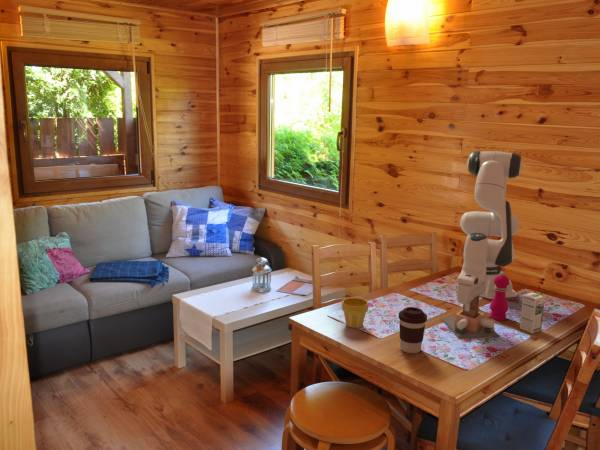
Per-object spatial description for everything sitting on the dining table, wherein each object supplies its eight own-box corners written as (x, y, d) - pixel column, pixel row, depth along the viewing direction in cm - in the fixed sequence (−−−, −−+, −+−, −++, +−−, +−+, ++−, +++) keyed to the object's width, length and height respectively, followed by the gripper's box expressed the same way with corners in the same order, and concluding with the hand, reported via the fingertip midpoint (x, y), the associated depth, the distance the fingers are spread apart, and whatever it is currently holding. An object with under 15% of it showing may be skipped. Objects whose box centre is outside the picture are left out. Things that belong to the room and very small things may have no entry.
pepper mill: (485, 317, 217) (490, 271, 213) (493, 312, 222) (497, 268, 218) (502, 322, 212) (507, 275, 208) (509, 317, 217) (514, 271, 213)
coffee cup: (407, 357, 180) (409, 317, 177) (391, 345, 189) (393, 307, 186) (430, 352, 184) (433, 313, 181) (413, 341, 193) (416, 303, 190)
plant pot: (346, 317, 214) (347, 295, 212) (370, 322, 210) (371, 299, 207) (337, 326, 205) (338, 303, 203) (362, 332, 200) (363, 308, 198)
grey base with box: (441, 319, 214) (442, 305, 212) (478, 318, 215) (479, 305, 214) (458, 338, 196) (459, 323, 195) (498, 337, 198) (500, 322, 196)
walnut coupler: (466, 314, 208) (468, 292, 206) (477, 316, 205) (479, 295, 203) (462, 317, 204) (463, 295, 202) (473, 320, 202) (475, 298, 200)
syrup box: (532, 333, 201) (536, 298, 198) (519, 328, 206) (522, 294, 203) (541, 330, 204) (545, 296, 201) (527, 325, 209) (531, 291, 206)
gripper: (475, 267, 211) (472, 299, 214) (455, 279, 195) (452, 313, 198) (491, 270, 207) (488, 303, 210) (471, 282, 191) (468, 317, 194)
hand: (470, 308), depth 204 cm, fingers closed on walnut coupler, 4 cm apart
